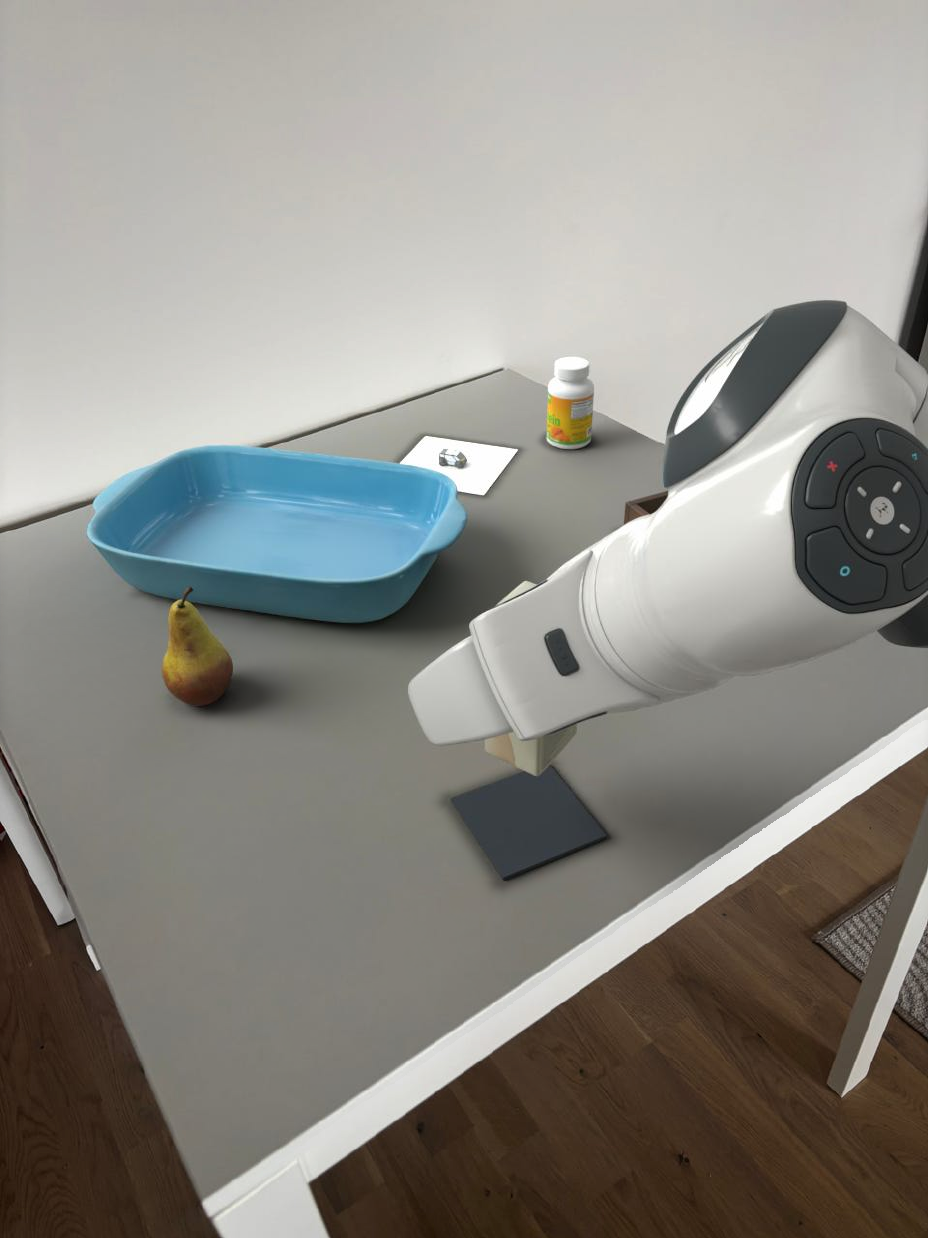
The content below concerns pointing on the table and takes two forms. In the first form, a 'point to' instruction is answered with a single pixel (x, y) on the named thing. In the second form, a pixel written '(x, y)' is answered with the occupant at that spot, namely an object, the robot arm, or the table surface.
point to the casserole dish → (278, 530)
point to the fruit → (194, 657)
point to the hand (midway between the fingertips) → (525, 669)
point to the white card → (461, 462)
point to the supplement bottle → (570, 404)
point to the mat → (527, 821)
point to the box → (533, 752)
